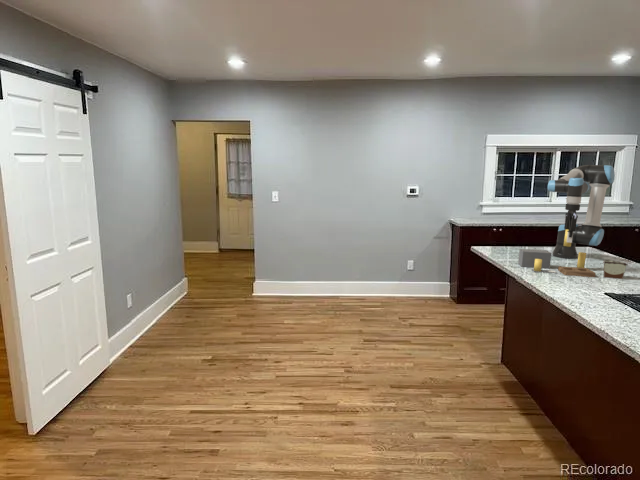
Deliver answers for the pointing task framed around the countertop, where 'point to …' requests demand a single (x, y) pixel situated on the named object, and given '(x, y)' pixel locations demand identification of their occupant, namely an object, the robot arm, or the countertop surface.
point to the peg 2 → (581, 260)
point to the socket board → (576, 271)
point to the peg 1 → (566, 239)
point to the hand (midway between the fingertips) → (567, 241)
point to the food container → (614, 268)
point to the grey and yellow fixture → (538, 267)
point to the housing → (529, 257)
